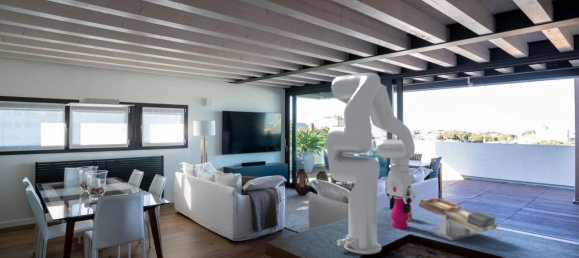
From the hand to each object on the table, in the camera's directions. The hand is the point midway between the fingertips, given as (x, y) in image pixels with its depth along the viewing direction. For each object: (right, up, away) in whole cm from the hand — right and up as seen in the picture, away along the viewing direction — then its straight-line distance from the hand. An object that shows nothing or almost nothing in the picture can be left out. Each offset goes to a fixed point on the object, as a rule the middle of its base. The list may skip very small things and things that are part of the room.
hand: (399, 210), depth 140 cm
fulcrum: (+18, -7, -11) cm, 22 cm away
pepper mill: (0, -7, 0) cm, 7 cm away
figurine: (+6, -7, +12) cm, 15 cm away
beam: (+18, 0, -11) cm, 21 cm away
